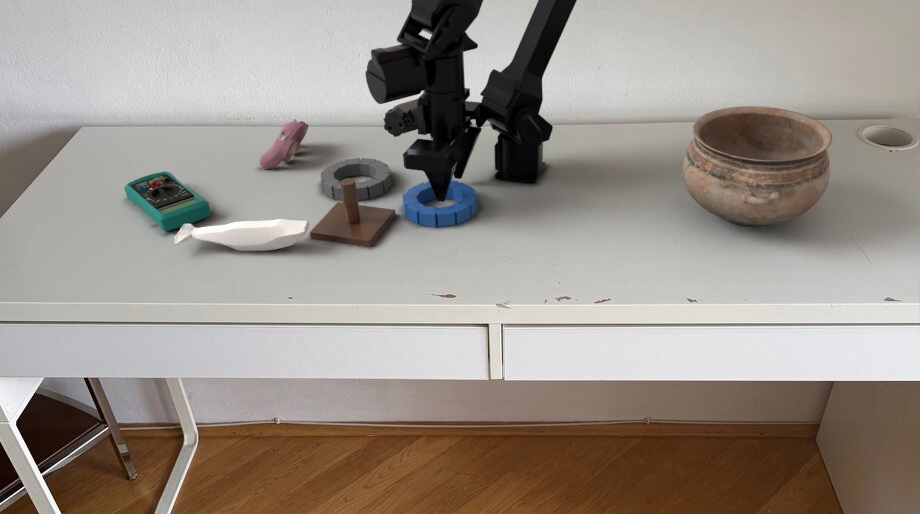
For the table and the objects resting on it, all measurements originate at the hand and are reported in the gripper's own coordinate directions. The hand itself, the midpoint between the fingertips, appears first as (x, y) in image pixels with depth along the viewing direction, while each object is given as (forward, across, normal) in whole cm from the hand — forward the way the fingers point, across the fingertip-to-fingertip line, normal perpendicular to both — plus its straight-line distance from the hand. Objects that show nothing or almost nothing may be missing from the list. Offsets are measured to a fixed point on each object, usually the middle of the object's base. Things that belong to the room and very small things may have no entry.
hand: (449, 189), depth 129 cm
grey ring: (+1, 0, -15) cm, 15 cm away
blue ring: (+1, +4, 0) cm, 4 cm away
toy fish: (+1, +21, -22) cm, 31 cm away
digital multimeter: (+1, +14, -39) cm, 42 cm away
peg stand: (+1, +12, -10) cm, 16 cm away
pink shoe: (+1, -6, -30) cm, 31 cm away
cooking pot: (+1, -5, +42) cm, 42 cm away
